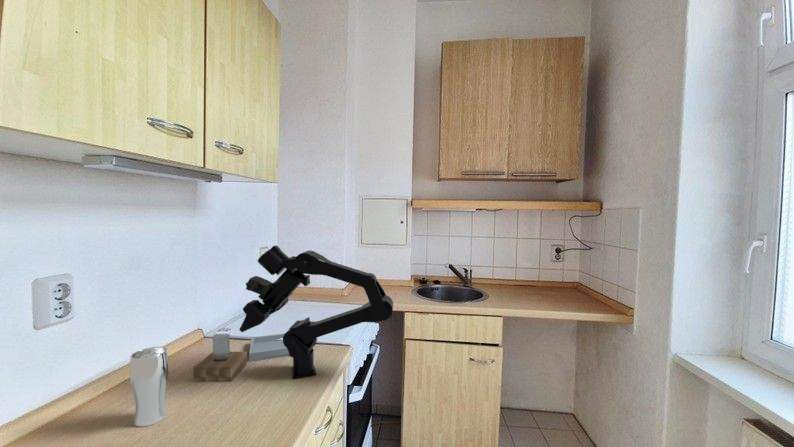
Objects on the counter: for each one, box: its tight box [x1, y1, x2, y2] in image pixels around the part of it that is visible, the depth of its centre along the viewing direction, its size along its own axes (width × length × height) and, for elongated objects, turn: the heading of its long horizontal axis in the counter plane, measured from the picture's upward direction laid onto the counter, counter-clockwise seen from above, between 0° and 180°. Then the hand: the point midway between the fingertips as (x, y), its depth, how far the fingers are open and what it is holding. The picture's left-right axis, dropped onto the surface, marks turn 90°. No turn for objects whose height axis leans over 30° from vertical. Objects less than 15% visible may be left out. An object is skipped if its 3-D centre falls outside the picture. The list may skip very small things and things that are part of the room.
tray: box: [248, 332, 290, 362], centre depth 112 cm, size 14×14×2 cm
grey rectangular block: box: [212, 333, 231, 361], centre depth 96 cm, size 4×2×11 cm, turn 91°
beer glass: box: [129, 346, 170, 428], centre depth 74 cm, size 7×7×15 cm
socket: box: [193, 351, 248, 383], centre depth 96 cm, size 10×10×4 cm
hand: (248, 325), depth 96 cm, fingers open, 9 cm apart
